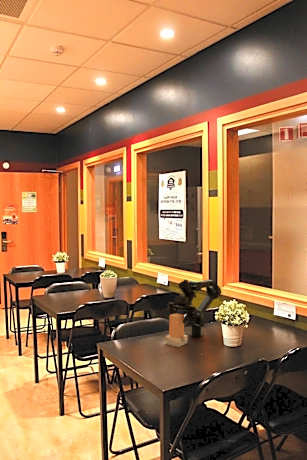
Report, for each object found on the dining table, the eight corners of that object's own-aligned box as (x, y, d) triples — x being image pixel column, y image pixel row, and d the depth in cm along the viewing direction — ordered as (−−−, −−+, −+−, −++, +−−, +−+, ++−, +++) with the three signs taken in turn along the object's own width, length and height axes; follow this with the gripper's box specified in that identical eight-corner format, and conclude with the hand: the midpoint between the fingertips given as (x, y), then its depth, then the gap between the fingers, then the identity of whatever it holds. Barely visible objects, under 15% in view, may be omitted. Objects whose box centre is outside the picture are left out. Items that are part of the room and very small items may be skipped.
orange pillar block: (175, 333, 244) (176, 313, 243) (184, 335, 240) (184, 314, 239) (169, 335, 239) (169, 314, 239) (177, 338, 235) (177, 316, 235)
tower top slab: (174, 336, 246) (174, 332, 246) (187, 339, 241) (187, 335, 240) (165, 340, 239) (165, 336, 239) (179, 343, 233) (179, 339, 233)
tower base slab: (174, 341, 246) (174, 336, 246) (187, 344, 241) (187, 339, 241) (165, 344, 239) (165, 340, 239) (178, 348, 233) (178, 343, 233)
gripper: (169, 288, 248) (157, 310, 240) (196, 292, 236) (184, 315, 228) (176, 299, 254) (165, 321, 246) (203, 304, 243) (192, 327, 235)
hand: (176, 321), depth 239 cm, fingers open, 9 cm apart
